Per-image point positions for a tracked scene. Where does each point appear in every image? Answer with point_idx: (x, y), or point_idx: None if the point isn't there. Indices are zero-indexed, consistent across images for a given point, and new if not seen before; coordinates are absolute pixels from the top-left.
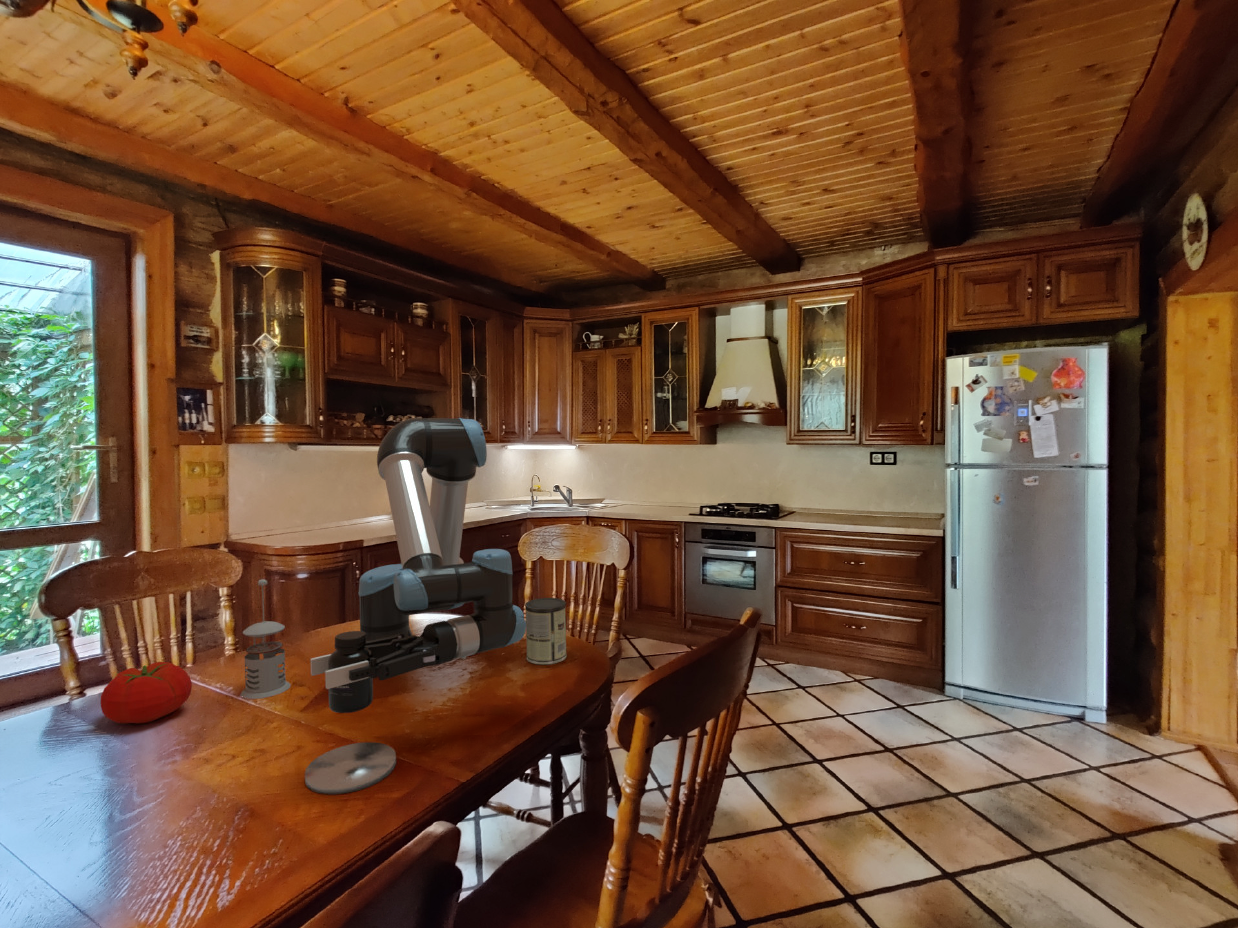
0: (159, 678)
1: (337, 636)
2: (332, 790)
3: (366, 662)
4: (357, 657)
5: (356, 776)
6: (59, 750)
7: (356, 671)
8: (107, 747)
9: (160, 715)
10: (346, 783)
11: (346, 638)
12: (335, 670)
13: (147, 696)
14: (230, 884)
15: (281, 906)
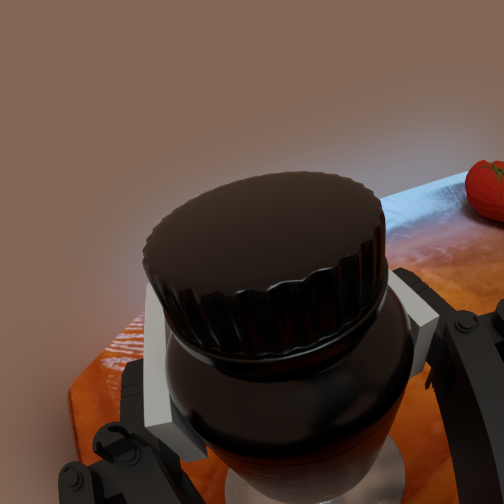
0: (498, 179)
1: (262, 178)
2: None
3: (146, 417)
4: (166, 359)
5: (251, 492)
6: (434, 196)
7: (122, 380)
8: (440, 213)
9: (487, 216)
10: (234, 475)
11: (184, 212)
12: (147, 305)
13: (477, 188)
14: (125, 363)
15: (70, 396)
